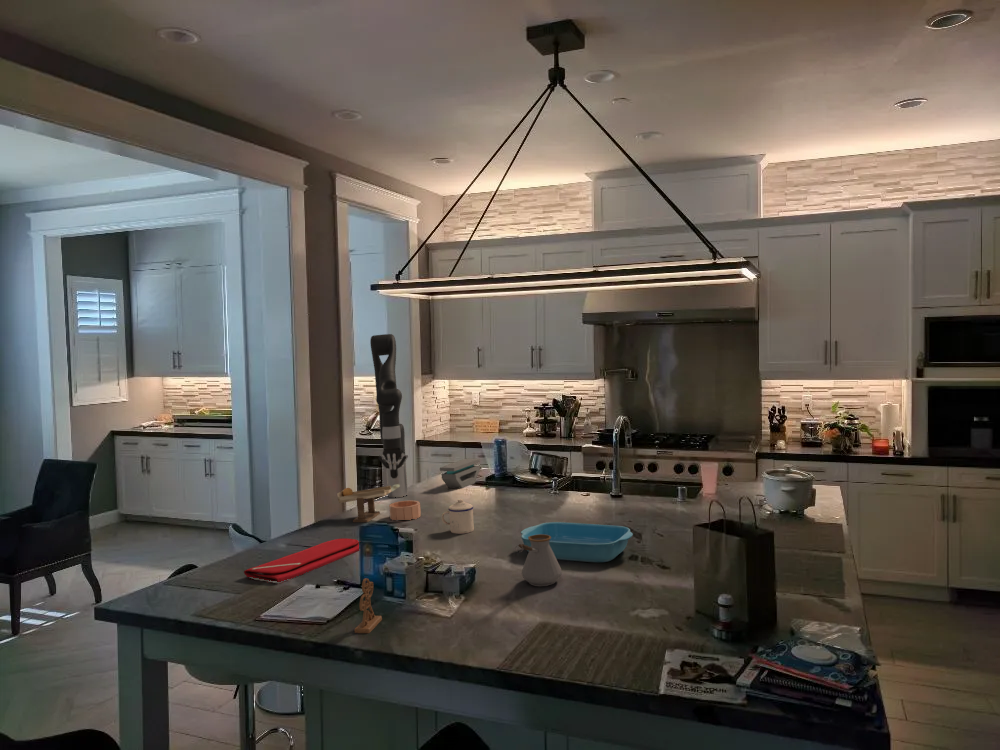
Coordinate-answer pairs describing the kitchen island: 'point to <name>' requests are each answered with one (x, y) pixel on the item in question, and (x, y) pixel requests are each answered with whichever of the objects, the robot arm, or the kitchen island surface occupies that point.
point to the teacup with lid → (460, 517)
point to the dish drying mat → (304, 560)
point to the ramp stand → (368, 514)
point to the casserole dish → (581, 540)
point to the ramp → (367, 493)
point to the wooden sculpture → (368, 618)
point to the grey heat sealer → (460, 473)
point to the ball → (347, 492)
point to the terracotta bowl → (405, 510)
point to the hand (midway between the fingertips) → (394, 478)
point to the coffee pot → (540, 562)
